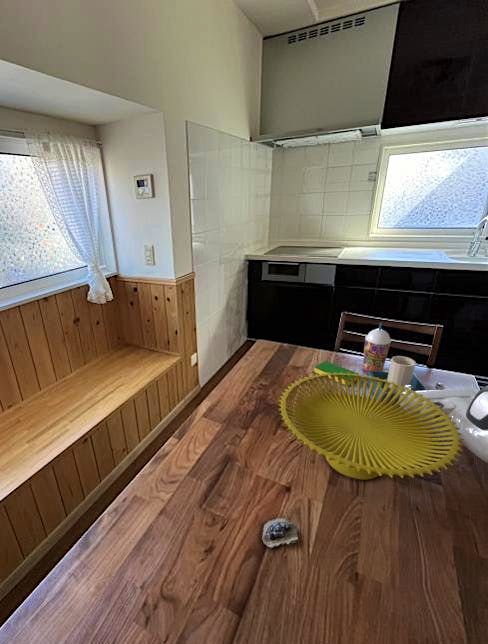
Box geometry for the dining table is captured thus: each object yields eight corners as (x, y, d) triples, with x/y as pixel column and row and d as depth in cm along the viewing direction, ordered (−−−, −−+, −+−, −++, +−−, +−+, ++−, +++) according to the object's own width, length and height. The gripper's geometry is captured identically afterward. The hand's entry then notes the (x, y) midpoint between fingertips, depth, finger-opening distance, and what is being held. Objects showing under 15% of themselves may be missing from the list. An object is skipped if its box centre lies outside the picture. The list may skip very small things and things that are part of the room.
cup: (403, 386, 116) (410, 356, 111) (411, 398, 110) (419, 366, 105) (382, 386, 117) (388, 355, 112) (389, 397, 111) (396, 365, 106)
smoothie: (361, 375, 126) (369, 326, 118) (358, 364, 133) (366, 317, 125) (386, 378, 123) (396, 328, 115) (382, 367, 130) (391, 319, 122)
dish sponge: (348, 386, 120) (349, 380, 119) (313, 372, 130) (314, 366, 129) (358, 379, 124) (359, 373, 123) (324, 365, 134) (325, 360, 133)
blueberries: (304, 538, 70) (305, 532, 70) (276, 558, 67) (276, 552, 66) (281, 513, 76) (282, 508, 75) (253, 531, 72) (254, 525, 72)
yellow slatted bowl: (245, 464, 90) (246, 418, 84) (315, 397, 115) (319, 358, 109) (422, 571, 63) (441, 516, 57) (461, 453, 89) (478, 406, 82)
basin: (410, 383, 119) (413, 371, 117) (430, 407, 106) (433, 395, 104) (366, 381, 122) (368, 370, 120) (380, 405, 109) (382, 393, 107)
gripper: (500, 402, 87) (460, 374, 99) (420, 406, 87) (390, 378, 100) (492, 421, 89) (454, 392, 102) (415, 426, 90) (386, 396, 102)
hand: (422, 385), depth 101 cm, fingers open, 8 cm apart
